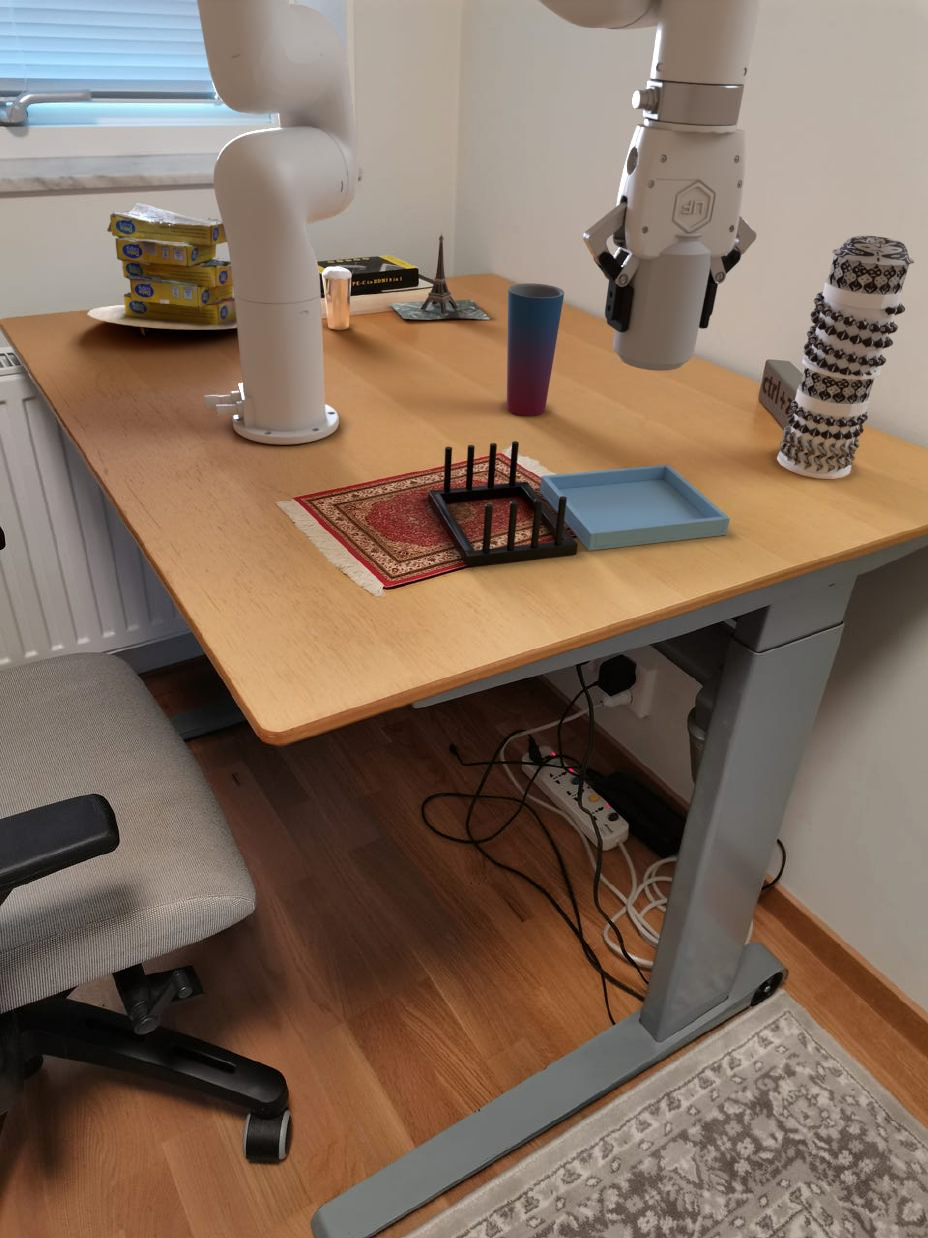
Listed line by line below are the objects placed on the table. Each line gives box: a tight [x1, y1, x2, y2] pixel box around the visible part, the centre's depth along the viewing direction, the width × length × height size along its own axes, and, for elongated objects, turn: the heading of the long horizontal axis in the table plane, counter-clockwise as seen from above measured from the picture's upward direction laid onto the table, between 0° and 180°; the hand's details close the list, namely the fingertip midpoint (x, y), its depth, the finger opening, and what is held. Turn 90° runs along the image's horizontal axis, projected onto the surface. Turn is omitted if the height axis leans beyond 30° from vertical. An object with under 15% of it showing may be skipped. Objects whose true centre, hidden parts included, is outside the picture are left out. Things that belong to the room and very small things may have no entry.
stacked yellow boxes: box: [87, 202, 237, 336], centre depth 135 cm, size 25×25×17 cm
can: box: [612, 233, 712, 372], centre depth 82 cm, size 8×8×12 cm
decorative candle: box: [776, 235, 915, 480], centre depth 100 cm, size 9×9×25 cm
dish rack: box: [427, 440, 579, 568], centre depth 89 cm, size 11×14×6 cm
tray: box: [539, 463, 731, 552], centre depth 94 cm, size 15×13×2 cm
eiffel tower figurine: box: [389, 228, 491, 320], centre depth 150 cm, size 15×10×13 cm
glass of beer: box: [321, 261, 357, 331], centre depth 141 cm, size 5×5×10 cm
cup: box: [506, 282, 565, 417], centre depth 114 cm, size 7×7×15 cm
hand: (657, 324), depth 84 cm, fingers closed on can, 7 cm apart
